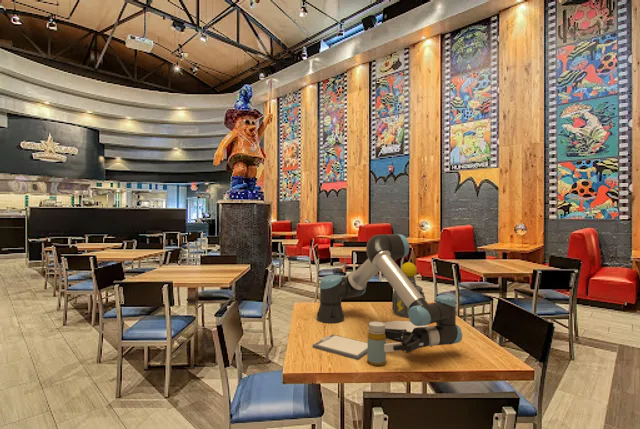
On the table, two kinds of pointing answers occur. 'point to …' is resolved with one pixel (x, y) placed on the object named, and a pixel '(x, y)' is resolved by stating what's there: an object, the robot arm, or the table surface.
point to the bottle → (376, 344)
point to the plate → (401, 325)
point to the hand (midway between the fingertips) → (376, 341)
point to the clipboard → (343, 346)
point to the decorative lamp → (397, 302)
